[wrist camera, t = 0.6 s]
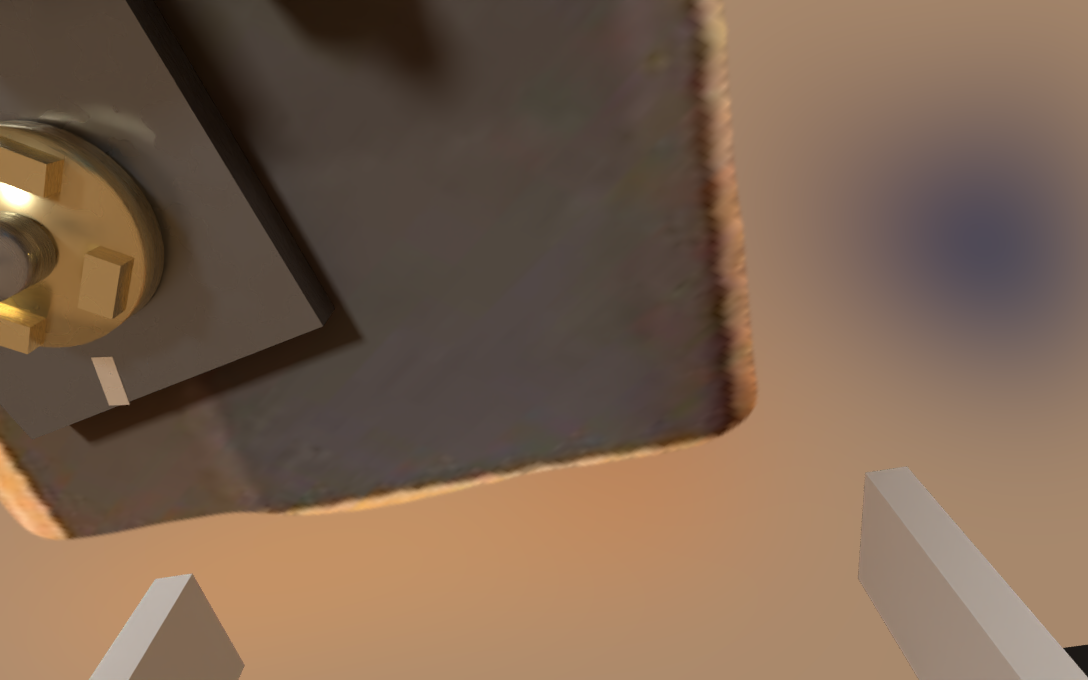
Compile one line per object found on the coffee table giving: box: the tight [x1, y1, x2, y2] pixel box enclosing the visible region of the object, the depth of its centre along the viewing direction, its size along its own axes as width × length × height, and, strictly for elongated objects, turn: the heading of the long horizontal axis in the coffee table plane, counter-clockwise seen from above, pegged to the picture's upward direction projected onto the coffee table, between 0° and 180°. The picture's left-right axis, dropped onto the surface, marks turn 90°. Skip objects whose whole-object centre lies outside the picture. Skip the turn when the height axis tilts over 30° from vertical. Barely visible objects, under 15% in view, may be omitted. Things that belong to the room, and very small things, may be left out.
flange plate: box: [0, 0, 335, 439], centre depth 32 cm, size 20×20×8 cm
